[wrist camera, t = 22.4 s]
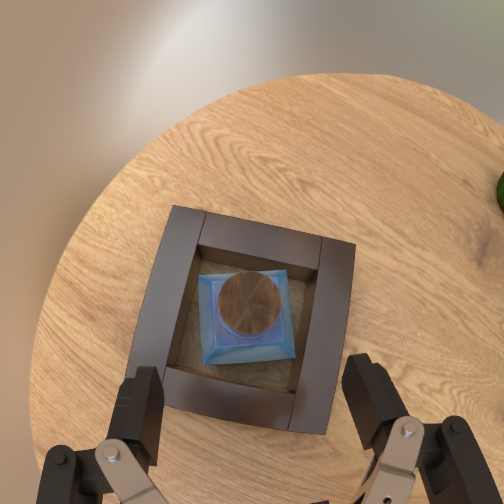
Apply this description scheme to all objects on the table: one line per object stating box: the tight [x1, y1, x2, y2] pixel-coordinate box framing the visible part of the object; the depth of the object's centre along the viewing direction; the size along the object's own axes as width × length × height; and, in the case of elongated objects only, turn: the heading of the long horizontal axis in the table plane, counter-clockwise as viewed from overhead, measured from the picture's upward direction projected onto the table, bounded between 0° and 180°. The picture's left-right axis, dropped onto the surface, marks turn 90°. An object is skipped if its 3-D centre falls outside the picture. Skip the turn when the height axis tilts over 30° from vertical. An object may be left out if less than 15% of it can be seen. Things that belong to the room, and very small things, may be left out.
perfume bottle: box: [198, 270, 296, 365], centre depth 21 cm, size 6×6×12 cm
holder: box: [124, 205, 356, 435], centre depth 24 cm, size 16×16×4 cm
